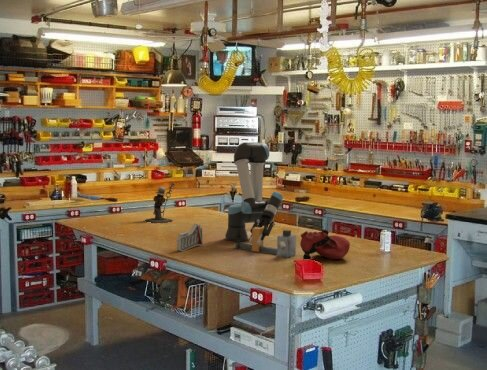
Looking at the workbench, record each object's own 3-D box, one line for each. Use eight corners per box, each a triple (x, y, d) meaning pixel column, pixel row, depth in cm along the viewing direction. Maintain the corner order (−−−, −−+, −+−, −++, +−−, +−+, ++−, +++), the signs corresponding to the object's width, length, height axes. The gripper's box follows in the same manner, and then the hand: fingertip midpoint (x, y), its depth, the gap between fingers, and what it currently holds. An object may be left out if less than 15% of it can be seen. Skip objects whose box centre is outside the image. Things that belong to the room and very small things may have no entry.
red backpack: (358, 233, 352) (318, 229, 336) (353, 267, 352) (312, 265, 337) (332, 226, 372) (292, 222, 357) (327, 258, 373) (287, 256, 357)
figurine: (138, 222, 469) (138, 183, 465) (151, 217, 491) (151, 180, 487) (165, 224, 462) (166, 184, 459) (177, 219, 484) (178, 182, 481)
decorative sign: (180, 255, 368) (179, 231, 365) (177, 255, 369) (175, 231, 366) (203, 245, 387) (201, 222, 384) (199, 245, 388) (198, 222, 386)
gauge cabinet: (276, 256, 360) (277, 236, 359) (285, 253, 369) (285, 233, 367) (286, 257, 356) (287, 237, 355) (295, 254, 365) (296, 235, 363)
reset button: (282, 239, 361) (282, 230, 361) (285, 238, 364) (285, 229, 363) (287, 240, 359) (288, 231, 359) (290, 239, 362) (290, 230, 361)
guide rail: (235, 248, 380) (235, 242, 379) (239, 247, 384) (239, 241, 384) (278, 255, 363) (278, 249, 362) (282, 253, 367) (282, 248, 366)
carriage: (251, 250, 373) (252, 228, 371) (256, 249, 377) (257, 226, 376) (258, 251, 370) (259, 229, 369) (263, 250, 375) (263, 227, 373)
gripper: (254, 208, 384) (239, 237, 373) (279, 211, 375) (264, 241, 363) (259, 215, 389) (244, 245, 378) (283, 218, 380) (269, 249, 368)
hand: (254, 243), depth 370 cm, fingers closed on carriage, 5 cm apart
